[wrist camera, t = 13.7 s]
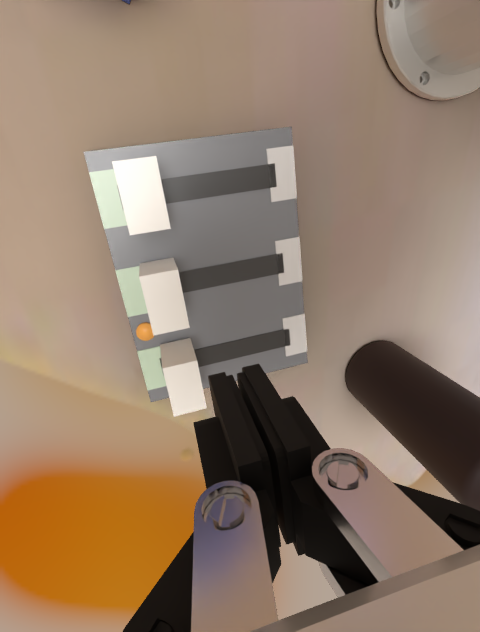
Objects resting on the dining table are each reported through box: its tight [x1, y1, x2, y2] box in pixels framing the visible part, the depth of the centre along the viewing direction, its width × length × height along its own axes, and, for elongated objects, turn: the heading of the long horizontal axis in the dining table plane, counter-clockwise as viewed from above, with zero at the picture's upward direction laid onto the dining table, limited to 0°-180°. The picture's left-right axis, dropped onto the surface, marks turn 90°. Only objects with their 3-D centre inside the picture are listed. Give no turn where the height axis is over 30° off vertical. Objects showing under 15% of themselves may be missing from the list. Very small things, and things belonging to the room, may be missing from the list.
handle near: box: [112, 156, 171, 235], centre depth 22 cm, size 2×4×4 cm, turn 8°
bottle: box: [346, 341, 480, 511], centre depth 28 cm, size 7×7×20 cm
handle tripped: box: [139, 258, 190, 336], centre depth 25 cm, size 2×4×4 cm, turn 8°
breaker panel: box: [84, 127, 308, 402], centre depth 28 cm, size 14×19×2 cm
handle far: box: [160, 338, 207, 417], centre depth 27 cm, size 2×4×4 cm, turn 8°
